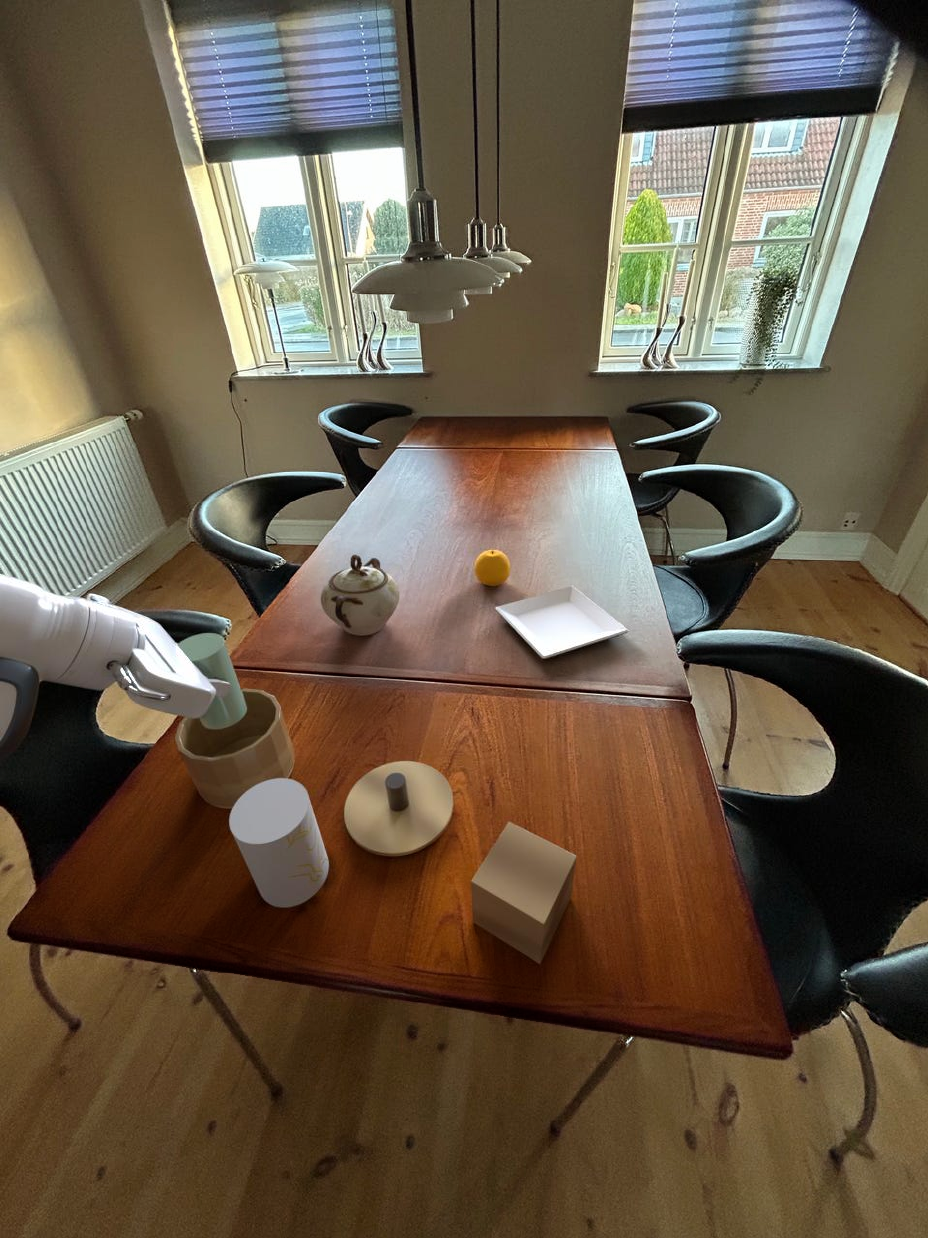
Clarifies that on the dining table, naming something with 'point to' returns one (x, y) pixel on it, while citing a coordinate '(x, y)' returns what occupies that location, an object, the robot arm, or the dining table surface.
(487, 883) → the stand
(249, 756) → the basket
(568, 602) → the plate
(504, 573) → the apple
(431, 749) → the dining table surface
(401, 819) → the basket lid
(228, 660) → the canister
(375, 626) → the sugar bowl
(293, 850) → the white cylinder
